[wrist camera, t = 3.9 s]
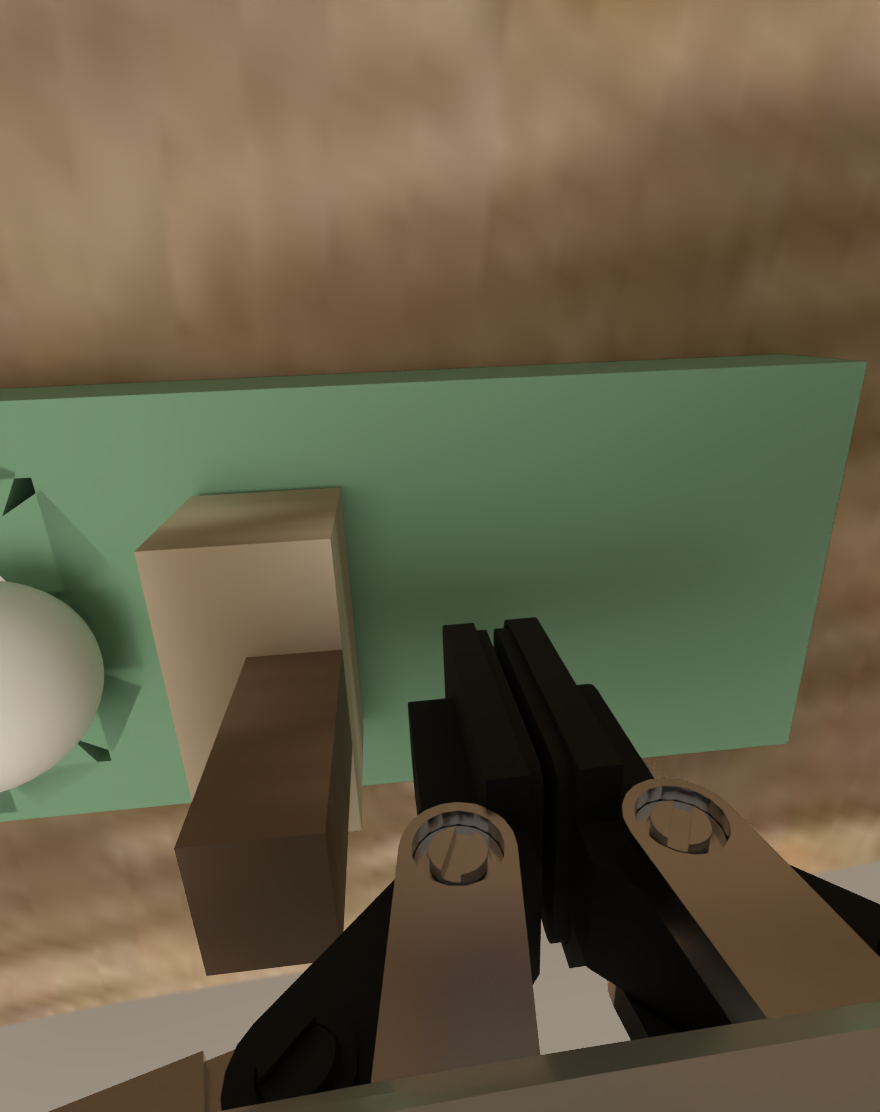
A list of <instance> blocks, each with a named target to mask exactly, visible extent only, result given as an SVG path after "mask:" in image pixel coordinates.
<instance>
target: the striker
mask: <svg viewBox="0 0 880 1112" xmlns="http://www.w3.org/2000/svg"><path fill="white" fill-rule="evenodd" d="M134 554H135V558H136V563H137V567H138V571H139V576H140V580H141V584H142V589H143V593H144V597H145V601H146V606H147V610H148V614H149V619H150V623H151V627H152V632H153V636H154V640H155V645H156V649H157V653H158V658H159V662H160V666H161V670H162V675H163V679H164V683H165V688H166V692H167V696H168V701H169V705H170V709H171V714H172V718H173V722H174V726H175V731H176V735H177V739H178V744H179V748H180V752H181V757H182V761H183V765H184V770H185V774H186V778H187V783H188V787H189V791H190V795H191V800H192V803H191V805H190V808H189V811H188V813H187V816H186V819H185V821H184V824H183V827H182V829H181V832H180V835H179V837H178V840H177V843H176V845H175V848H174V850H175V853H176V857H177V861H178V865H179V869H180V873H181V877H182V881H183V885H184V889H185V893H186V897H187V901H188V905H189V908H190V912H191V916H192V920H193V924H194V928H195V932H196V936H197V940H198V944H199V948H200V952H201V956H202V960H203V964H204V967H205V971H206V975H207V976H209V975H217V974H226V973H234V972H242V971H250V970H258V969H267V968H275V967H283V966H291V965H299V964H307V963H314V961H315V960H316V959H317V958H318V957H319V956H320V955H321V954H322V953H323V952H324V951H325V950H326V949H327V948H328V947H329V946H330V945H331V944H332V943H333V942H334V941H335V940H336V939H337V938H338V937H339V936H340V935H341V934H342V933H343V929H344V908H345V888H346V867H347V847H348V832H350V831H360V830H361V824H362V781H363V737H364V726H363V715H362V705H361V695H360V684H359V674H358V664H357V653H356V643H355V633H354V622H353V612H352V602H351V591H350V581H349V570H348V560H347V550H346V539H345V529H344V519H343V508H342V498H341V488H340V487H338V488H321V489H304V490H288V491H271V492H254V493H237V494H220V495H203V496H191V497H190V498H189V499H188V500H187V501H186V502H185V503H184V504H183V505H182V506H181V507H180V508H179V509H178V510H177V511H176V512H175V513H173V514H172V515H171V516H170V517H169V518H168V519H167V520H166V521H165V522H164V523H163V524H162V525H161V526H160V527H159V528H158V529H157V530H156V531H155V532H154V533H153V534H152V535H151V536H150V537H149V538H148V539H147V540H146V541H145V542H144V543H143V544H142V545H141V546H140V547H138V548H137V549H136V550H135V551H134Z"/></svg>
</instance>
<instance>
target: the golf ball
mask: <svg viewBox="0 0 880 1112" xmlns="http://www.w3.org/2000/svg"><path fill="white" fill-rule="evenodd" d="M103 686H104V665H103V659H102V655H101V652H100V648H99V645H98V643H97V641H96V638H95V636H94V634H93V633H92V631H91V630H90V628H89V627H88V625H87V624H86V623H85V621H84V620H83V619H82V618H81V617H80V616H79V615H78V614H77V613H76V612H75V611H74V610H73V609H72V608H70V607H69V606H68V605H67V604H65V603H64V602H62V601H61V600H59V599H57V598H56V597H54V596H52V595H50V594H48V593H46V592H44V591H41V590H39V589H36V588H33V587H30V586H26V585H23V584H18V583H13V582H6V581H0V792H3V791H6V790H9V789H12V788H15V787H18V786H20V785H22V784H24V783H26V782H28V781H30V780H32V779H34V778H36V777H37V776H39V775H41V774H42V773H44V772H46V771H47V770H49V769H50V768H52V767H53V766H54V765H56V764H57V763H58V762H59V761H61V760H62V759H63V758H64V757H65V756H66V755H67V754H68V753H69V752H70V751H71V750H72V749H73V748H74V747H75V746H76V745H77V744H78V742H79V741H80V740H81V738H82V737H83V736H84V735H85V733H86V731H87V730H88V728H89V726H90V725H91V723H92V721H93V719H94V718H95V715H96V713H97V710H98V707H99V704H100V702H101V697H102V692H103Z"/></svg>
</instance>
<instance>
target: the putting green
mask: <svg viewBox="0 0 880 1112" xmlns="http://www.w3.org/2000/svg"><path fill="white" fill-rule="evenodd" d="M866 366H867V361H857V360H845V359H833V358H821V357H810V356H798V355H786V354H772V355H749V356H726V357H704V358H681V359H659V360H636V361H614V362H591V363H568V364H546V365H523V366H501V367H478V368H456V369H433V370H411V371H388V372H365V373H343V374H320V375H298V376H275V377H253V378H230V379H207V380H185V381H162V382H140V383H117V384H95V385H72V386H50V387H27V388H4V389H0V581H6V582H13V583H18V584H23V585H26V586H30V587H33V588H36V589H39V590H41V591H44V592H46V593H48V594H50V595H52V596H54V597H56V598H57V599H59V600H61V601H62V602H64V603H65V604H67V605H68V606H69V607H70V608H72V609H73V610H74V611H75V612H76V613H77V614H78V615H79V616H80V617H81V618H82V619H83V620H84V621H85V623H86V624H87V625H88V627H89V628H90V630H91V631H92V633H93V634H94V636H95V638H96V641H97V643H98V645H99V648H100V652H101V655H102V659H103V665H104V686H103V692H102V697H101V702H100V704H99V707H98V710H97V713H96V715H95V718H94V719H93V721H92V723H91V725H90V726H89V728H88V730H87V731H86V733H85V735H84V736H83V737H82V738H81V740H80V741H79V742H78V744H77V745H76V746H75V747H74V748H73V749H72V750H71V751H70V752H69V753H68V754H67V755H66V756H65V757H64V758H63V759H62V760H61V761H59V762H58V763H57V764H56V765H54V766H53V767H52V768H50V769H49V770H47V771H46V772H44V773H42V774H41V775H39V776H37V777H36V778H34V779H32V780H30V781H28V782H26V783H24V784H22V785H20V786H18V787H15V788H12V789H9V790H6V791H3V792H0V822H2V821H12V820H22V819H32V818H42V817H52V816H62V815H72V814H82V813H92V812H102V811H112V810H123V809H133V808H143V807H153V806H163V805H173V804H183V803H192V800H191V795H190V791H189V787H188V783H187V778H186V774H185V770H184V765H183V761H182V757H181V752H180V748H179V744H178V739H177V735H176V731H175V726H174V722H173V718H172V714H171V709H170V705H169V701H168V696H167V692H166V688H165V683H164V679H163V675H162V670H161V666H160V662H159V658H158V653H157V649H156V645H155V640H154V636H153V632H152V627H151V623H150V619H149V614H148V610H147V606H146V601H145V597H144V593H143V589H142V584H141V580H140V576H139V571H138V567H137V563H136V558H135V554H134V551H135V550H136V549H137V548H138V547H140V546H141V545H142V544H143V543H144V542H145V541H146V540H147V539H148V538H149V537H150V536H151V535H152V534H153V533H154V532H155V531H156V530H157V529H158V528H159V527H160V526H161V525H162V524H163V523H164V522H165V521H166V520H167V519H168V518H169V517H170V516H171V515H172V514H173V513H175V512H176V511H177V510H178V509H179V508H180V507H181V506H182V505H183V504H184V503H185V502H186V501H187V500H188V499H189V498H190V497H191V496H203V495H220V494H237V493H254V492H271V491H288V490H304V489H321V488H338V487H340V488H341V498H342V508H343V519H344V529H345V539H346V550H347V560H348V570H349V581H350V591H351V602H352V612H353V622H354V633H355V643H356V653H357V664H358V674H359V684H360V695H361V705H362V715H363V726H364V737H363V781H362V786H364V785H374V784H384V783H394V782H404V781H414V779H413V769H412V757H411V744H410V730H409V716H408V702H414V701H424V700H433V699H443V698H445V682H444V659H443V634H442V631H443V625H453V624H464V623H474V625H475V627H476V630H487V632H488V635H489V637H490V640H491V642H492V645H493V634H494V629H496V628H503V626H504V621H505V620H508V619H519V618H530V617H536V618H537V619H538V620H539V622H540V624H541V625H542V627H543V629H544V631H545V632H546V634H547V636H548V637H549V639H550V641H551V642H552V644H553V646H554V647H555V649H556V651H557V653H558V654H559V656H560V658H561V659H562V661H563V663H564V664H565V666H566V668H567V669H568V671H569V673H570V675H571V676H572V678H573V680H574V681H575V683H576V685H581V684H592V685H594V686H595V687H596V689H597V690H598V691H599V693H600V694H601V696H602V698H603V699H604V701H605V702H606V704H607V705H608V707H609V708H610V710H611V712H612V713H613V715H614V716H615V718H616V719H617V721H618V723H619V724H620V726H621V727H622V729H623V730H624V732H625V733H626V735H627V737H628V738H629V740H630V741H631V743H632V744H633V746H634V748H635V749H636V751H637V752H638V754H639V755H640V757H641V758H646V757H656V756H666V755H676V754H686V753H696V752H706V751H716V750H726V749H736V748H746V747H756V746H766V745H777V744H787V743H788V738H789V733H790V729H791V724H792V719H793V714H794V710H795V705H796V700H797V695H798V690H799V686H800V681H801V676H802V671H803V667H804V662H805V657H806V652H807V648H808V643H809V638H810V633H811V628H812V624H813V619H814V614H815V609H816V605H817V600H818V595H819V590H820V585H821V581H822V576H823V571H824V566H825V562H826V557H827V552H828V547H829V542H830V538H831V533H832V528H833V523H834V519H835V514H836V509H837V504H838V500H839V495H840V490H841V485H842V480H843V476H844V471H845V466H846V461H847V457H848V452H849V447H850V442H851V437H852V433H853V428H854V423H855V418H856V414H857V409H858V404H859V399H860V394H861V390H862V385H863V380H864V375H865V371H866Z"/></svg>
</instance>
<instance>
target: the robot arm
mask: <svg viewBox="0 0 880 1112" xmlns="http://www.w3.org/2000/svg"><path fill="white" fill-rule="evenodd" d="M442 634H443V659H444V682H445V698H443V699H433V700H424V701H414V702H408V716H409V730H410V744H411V757H412V769H413V779H414V789H415V798H416V807H417V817H415V818H414V819H412V821H411V822H410V823H409V825H408V826H407V827H406V829H405V830H404V831H403V834H402V837H401V840H400V844H399V848H398V856H397V865H396V873H395V880H394V881H393V882H392V883H391V884H390V885H389V886H388V887H387V888H386V889H385V890H384V891H383V892H382V893H381V894H380V895H379V896H378V897H377V898H376V899H375V900H374V901H373V902H372V903H371V904H370V905H369V906H368V907H367V908H366V909H365V910H364V911H363V912H362V913H361V914H360V915H359V916H358V917H357V919H356V920H355V921H354V922H353V923H352V924H351V925H350V926H349V927H348V928H347V929H346V930H345V931H344V932H343V933H342V934H341V935H340V936H339V937H338V938H337V939H336V940H335V941H334V942H333V943H332V944H331V945H330V946H329V947H328V948H327V949H326V950H325V951H324V952H323V953H322V954H321V955H320V956H319V957H318V958H317V959H316V960H315V961H314V963H313V964H312V965H311V966H310V967H309V968H308V969H307V970H306V971H305V972H304V973H303V974H302V975H301V976H300V977H299V978H298V979H297V980H296V981H295V982H294V983H293V984H292V985H291V986H290V987H289V988H288V989H287V990H286V991H285V992H284V993H283V994H282V995H281V996H280V997H279V998H278V999H277V1000H276V1001H275V1002H274V1004H273V1005H272V1006H271V1007H270V1008H269V1009H268V1010H267V1011H266V1012H265V1013H264V1014H263V1015H262V1016H261V1017H260V1018H259V1019H258V1020H257V1021H256V1022H255V1023H254V1024H253V1025H252V1027H251V1028H250V1029H249V1030H248V1032H247V1033H246V1034H245V1036H244V1037H243V1038H242V1040H241V1041H240V1042H239V1043H238V1045H237V1047H236V1049H235V1050H233V1051H230V1052H228V1053H225V1054H223V1055H220V1056H218V1057H215V1058H213V1059H210V1060H208V1061H206V1059H205V1055H204V1052H203V1051H201V1052H199V1053H196V1054H194V1055H191V1056H189V1057H186V1058H184V1059H181V1060H178V1061H176V1062H173V1063H171V1064H168V1065H166V1066H164V1067H161V1068H158V1069H156V1070H153V1071H150V1072H148V1073H146V1074H143V1075H140V1076H138V1077H136V1078H133V1079H130V1080H128V1081H125V1082H123V1083H120V1084H118V1085H115V1086H112V1087H111V1088H107V1089H105V1090H102V1091H100V1092H97V1093H95V1094H92V1095H90V1096H87V1097H85V1098H82V1099H80V1100H77V1101H75V1102H72V1103H69V1104H67V1105H65V1106H62V1107H59V1108H57V1109H54V1110H52V1111H49V1112H880V904H878V903H875V902H873V901H871V900H868V899H866V898H864V897H862V896H859V895H857V894H855V893H852V892H850V891H848V890H846V889H844V888H841V887H839V886H836V885H834V884H832V883H830V882H828V881H825V880H823V879H821V878H818V877H816V876H814V875H812V874H809V873H807V872H805V871H803V870H800V869H798V868H796V867H793V866H791V865H789V864H788V863H787V862H786V861H785V860H784V859H783V858H782V857H781V856H780V855H779V854H778V853H777V852H776V851H775V850H774V849H773V848H772V847H771V846H770V845H769V844H768V843H767V842H766V841H765V840H764V839H763V838H762V837H761V836H760V835H759V834H758V833H757V832H756V831H755V829H754V828H753V827H752V826H751V825H750V824H749V823H748V822H747V821H746V820H745V819H744V818H743V817H742V816H741V815H740V814H739V813H738V812H737V811H736V810H735V809H734V808H733V807H732V806H731V805H730V804H729V803H727V802H726V801H725V800H724V799H722V798H721V797H720V796H719V795H718V794H716V793H714V792H712V791H710V790H709V789H707V788H705V787H703V786H701V785H698V784H695V783H692V782H688V781H685V780H682V779H672V778H657V779H654V777H653V776H652V774H651V773H650V771H649V769H648V768H647V766H646V765H645V763H644V762H643V760H642V758H641V757H640V755H639V754H638V752H637V751H636V749H635V748H634V746H633V744H632V743H631V741H630V740H629V738H628V737H627V735H626V733H625V732H624V730H623V729H622V727H621V726H620V724H619V723H618V721H617V719H616V718H615V716H614V715H613V713H612V712H611V710H610V708H609V707H608V705H607V704H606V702H605V701H604V699H603V698H602V696H601V694H600V693H599V691H598V690H597V689H596V687H595V686H594V685H592V684H581V685H576V683H575V681H574V680H573V678H572V676H571V675H570V673H569V671H568V669H567V668H566V666H565V664H564V663H563V661H562V659H561V658H560V656H559V654H558V653H557V651H556V649H555V647H554V646H553V644H552V642H551V641H550V639H549V637H548V636H547V634H546V632H545V631H544V629H543V627H542V625H541V624H540V622H539V620H538V619H537V618H536V617H530V618H519V619H508V620H505V621H504V626H503V628H496V629H494V634H493V645H492V642H491V640H490V637H489V635H488V632H487V630H476V627H475V625H474V623H464V624H453V625H443V631H442ZM541 920H542V923H543V926H544V930H545V933H546V936H547V939H548V941H549V942H550V943H551V944H552V943H559V942H561V943H562V947H563V949H564V953H565V956H566V959H567V962H568V965H569V968H574V967H581V966H587V967H588V968H590V969H591V970H592V971H594V972H595V973H597V974H599V975H600V976H602V977H603V978H605V979H606V980H607V981H608V992H609V995H610V998H611V1001H612V1003H613V1006H614V1008H615V1010H616V1012H617V1014H618V1016H619V1018H620V1020H621V1022H622V1024H623V1026H624V1028H625V1030H626V1032H627V1033H628V1035H629V1037H630V1039H631V1041H625V1042H618V1043H612V1044H606V1045H600V1046H594V1047H587V1048H581V1049H576V1050H569V1051H564V1052H558V1053H551V1054H546V1055H540V1050H539V1040H538V1031H537V1022H536V1012H535V1003H534V993H533V984H534V982H535V980H536V979H537V977H538V976H539V974H540V939H541V936H540V935H541Z"/></svg>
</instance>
